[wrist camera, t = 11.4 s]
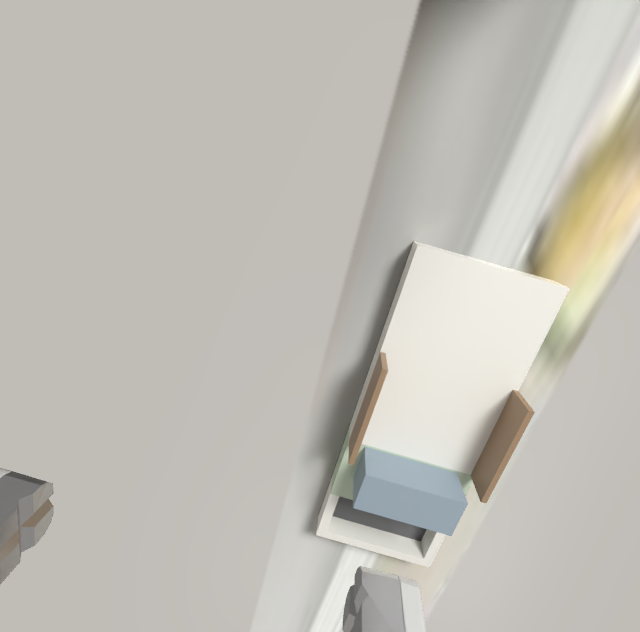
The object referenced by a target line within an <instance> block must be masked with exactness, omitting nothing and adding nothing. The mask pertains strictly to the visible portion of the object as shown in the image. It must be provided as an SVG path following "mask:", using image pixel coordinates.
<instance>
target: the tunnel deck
mask: <svg viewBox="0 0 640 632" xmlns="http://www.w3.org/2000/svg"><path fill="white" fill-rule="evenodd" d="M569 289H570V288H568V287H566V286H564V285H562V284H560V283H558V282H556V281H553V280H549V279H546V278H542V277H539V276H535V275H532V274H528V273H525V272H521V271H518V270H514V269H511V268H507V267H504V266H500V265H497V264H493V263H490V262H486V261H483V260H479V259H475V258H472V257H468V256H465V255H461V254H458V253H454V252H451V251H447V250H444V249H440V248H437V247H433V246H430V245H426V244H423V243H419V242H416V241H414V242H413V245H412V248H411V250H410V253H409V256H408V259H407V262H406V265H405V268H404V271H403V273H402V276H401V279H400V282H399V285H398V288H397V291H396V294H395V296H394V299H393V302H392V305H391V308H390V311H389V314H388V317H387V320H386V322H385V325H384V328H383V331H382V334H381V337H380V340H379V343H378V345H377V348H376V351H375V354H374V357H373V360H372V363H371V366H370V369H369V371H368V374H367V377H366V380H365V383H364V386H363V389H362V392H361V394H360V397H359V400H358V403H357V406H356V409H355V412H354V415H353V418H352V420H351V423H350V426H349V429H348V432H347V435H346V438H345V441H344V443H343V446H342V449H341V452H340V455H339V458H338V461H337V464H336V467H335V469H334V472H333V475H332V478H331V481H330V484H329V487H328V490H327V492H326V495H325V498H324V501H323V504H322V507H321V510H320V513H319V516H318V521H317V529H316V535H317V536H321V537H324V538H328V539H331V540H335V541H338V542H342V543H345V544H349V545H352V546H356V547H359V548H362V549H366V550H369V551H373V552H376V553H380V554H383V555H387V556H390V557H394V558H397V559H401V560H404V561H408V562H411V563H415V564H418V565H422V566H425V567H429V568H430V566H431V564H432V562H433V560H434V558H435V556H436V554H437V552H438V550H439V548H440V546H441V544H442V542H443V540H444V538H445V536H446V534H442V533H439V532H435V531H432V530H428V529H425V528H421V527H418V526H414V525H411V524H407V523H404V522H400V521H397V520H393V519H390V518H386V517H383V516H379V515H376V514H372V513H369V512H365V511H362V510H358V509H355V508H353V480H354V475H355V472H356V470H357V467H358V464H359V462H360V459H361V456H362V454H363V451H364V448H365V447H368V448H372V449H375V450H379V451H382V452H386V453H389V454H393V455H396V456H400V457H403V458H407V459H410V460H414V461H417V462H421V463H424V464H428V465H431V466H435V467H438V468H442V469H445V470H449V471H452V472H456V473H457V474H458V477H459V480H460V483H461V486H462V489H463V492H464V495H465V496H466V494H467V492H468V490H469V488H470V486H471V484H472V482H473V483H474V485H475V488H476V491H477V493H478V496H479V498H480V501H481V502H483V503H487V501H488V499H489V497H490V495H491V493H492V491H493V490H494V488H495V486H496V484H497V482H498V480H499V478H500V476H501V474H502V473H503V471H504V469H505V467H506V465H507V463H508V461H509V459H510V457H511V456H512V454H513V452H514V450H515V448H516V446H517V444H518V442H519V440H520V439H521V437H522V435H523V433H524V431H525V429H526V427H527V425H528V423H529V422H530V420H531V418H532V416H533V414H534V411H533V410H532V408H531V407H530V406H529V404H528V403H527V402H526V401H525V399H524V398H523V397H522V395H521V394H520V393H519V389H520V387H521V385H522V383H523V381H524V379H525V377H526V375H527V373H528V371H529V369H530V367H531V365H532V363H533V361H534V359H535V357H536V355H537V353H538V351H539V349H540V347H541V345H542V343H543V341H544V339H545V337H546V335H547V333H548V331H549V329H550V327H551V325H552V323H553V321H554V319H555V317H556V315H557V313H558V311H559V309H560V307H561V305H562V303H563V301H564V299H565V297H566V295H567V293H568V291H569Z"/></svg>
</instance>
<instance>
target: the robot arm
mask: <svg viewBox="0 0 640 632" xmlns="http://www.w3.org/2000/svg"><path fill="white" fill-rule="evenodd" d="M52 494H53V484H52V483H49V482H46V481H42V480H39V479H36V478H32V477H29V476H26V475H23V474H19V473H16V472H13V471H9V470H6V469H2V468H0V584H1V583H2V582H3V581H4V580H5V579H6V577H7V576H8V575H9V574H10V573H11V572H12V571H13V570H14V568H15V567H16V566H17V565H18V564H19V563H20V557H21V552H23V551H25V550H27V549H29V548H31V547H33V546H35V545H36V543H37V542H38V541H39V540H40V538H41V537H42V536H43V535H44V533H45V532H46V530H47V528H48V526H49V525H50V523H51V520H52V516H53V505H52V504H51V502H50V501H49V499H48V498H49V497H50V496H51V495H52ZM343 632H426V627H425V620H424V613H423V606H422V599H421V592H420V586H419V584H418V582H417V581H414V580H410V579H407V578H403V577H399V576H397V575H394V574H390V573H386V572H382V571H378V570H374V569H370V568H366V567H362V566H360V567H359V568H358V569H357V571H356V574H355V585H353V586H351V587H350V589H349V592H348V594H347V598H346V603H345V607H344V615H343Z"/></svg>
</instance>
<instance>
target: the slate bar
mask: <svg viewBox="0 0 640 632" xmlns="http://www.w3.org/2000/svg"><path fill="white" fill-rule="evenodd" d="M467 504H468V503H467V501H466V498H465V495H464V492H463V489H462V486H461V483H460V480H459V477H458V474H457V473H456V472H452V471H449V470H445V469H442V468H438V467H435V466H431V465H428V464H424V463H421V462H417V461H414V460H410V459H407V458H403V457H400V456H396V455H393V454H389V453H386V452H382V451H379V450H375V449H372V448H368V447H365V448H364V451H363V454H362V456H361V459H360V462H359V464H358V467H357V470H356V472H355V475H354V480H353V508H355V509H358V510H362V511H365V512H369V513H372V514H376V515H379V516H383V517H386V518H390V519H393V520H397V521H400V522H404V523H407V524H411V525H414V526H418V527H421V528H425V529H428V530H432V531H435V532H439V533H442V534H446V535H449V536H452V534H453V532H454V530H455V528H456V526H457V524H458V522H459V520H460V518H461V516H462V514H463V512H464V510H465V508H466V506H467Z"/></svg>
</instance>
